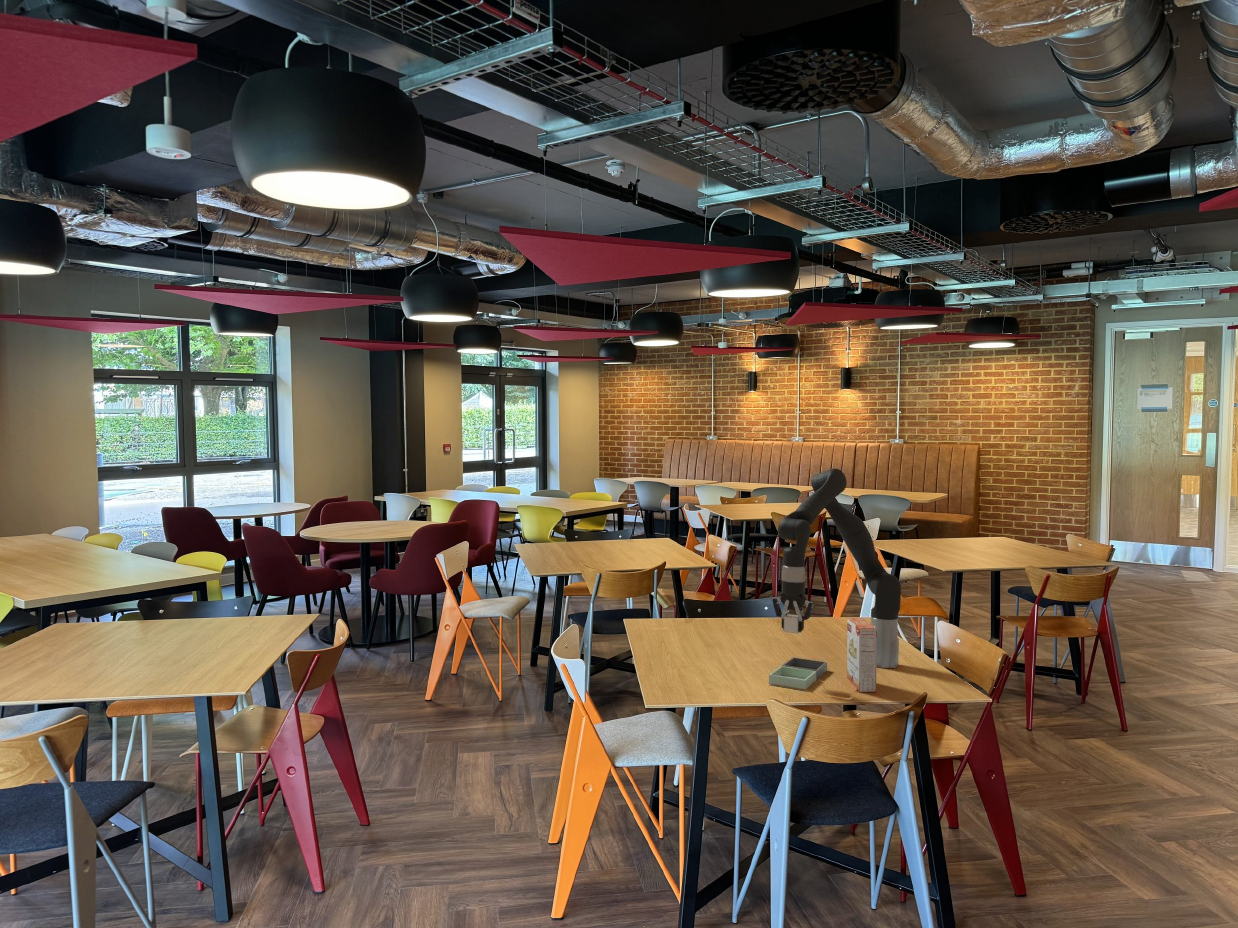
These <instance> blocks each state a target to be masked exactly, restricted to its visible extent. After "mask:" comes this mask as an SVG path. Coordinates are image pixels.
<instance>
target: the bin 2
mask: <svg viewBox="0 0 1238 928" xmlns="http://www.w3.org/2000/svg"><path fill="white" fill-rule="evenodd" d="M781 666H785V667H792V668H798V669H805V670H811V671H816V680H818V679H819V678H821V677H822V676H823V675H824V674H825V673H826V672H827V671H828V662H827V661H823V660H814V659H808V658H802V657H791V658H790V659H788V660H787V661H786V662H784V663H783V664H781Z"/></svg>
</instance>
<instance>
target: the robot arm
mask: <svg viewBox="0 0 1238 928" xmlns="http://www.w3.org/2000/svg"><path fill="white" fill-rule="evenodd" d="M810 481H811V483H810V484H811V488H812V490H813V493H812V494H809V496H808V497H807V498H805V499H804V500H802V502H801V503H800V504H799V506H798V507H797V508H796V510H794V511H792V512H791V513H789V514H787V515H786V516H784V517H782V519H781V520H780V521H779V523H778V526H777V534H778V536H779V537H780V538H781V539H783V540H786V541H787V540H788V541H796V543H795V545H794V546H789V547H786V548H784V549H783V552H782V554H783V555H782V570H781V595H780V597H774V598H773V599H771V600H772V605H773V608H774V612H775V616H776V617H778V618H780V619H781V628H782V630H783V631H784V617H785V616H787V615H788V614H789V612H790V611H793V612H795V613H796V614H795V615H797V616H798V619H799V621H798V632H799V633H802V632H803V631H804V629H805V621H807V620H809V619H810V617H811V615H812V613H813V609H814V606H815V602H814V601H809V600H807V599H806V595H805V594H806V568H805V563H806V560H805V559H806V557H805V556H806V551H807V547H808V543H809V539H810V536H811V532H812V527H811V526H812V525H813V524H814V522H815V521H816V520H817V518H818V517H819V515H820V514H821V513H822V512H823V510H824V509H825V510H826V512H827V513H828V515H829V517H830V518H831V520H832V522H833V524H834V525H835V527H836V528H837V531H838V532H839V534H840V536H841V538H842V540H843V542H844V544H845V546H847V549H848V550H849V553H850V554H851V555H852V557H853V558H854V560H855V561H856V563H857V565H858V566H859V569H860V570H861V573H862V574H863V577H864V579H865V582H866V585H867V586H868V588H869V591H870V592H871V593H872V594H873V595H874V597H875V598H874V605H873V607H872V608H871V610H870V624H871V625H872V626H874V627H875V628H876V629H877V655H876V668H882V669H896V668H897V667H898V665H899V660H900V659H899V655H900V653H899V652H900V647H899V646H900V645H899V644H900V643H899V642H900V638H898V634H899V633H898V631H899V627H898V626H899V624H898V622H899V612H900V610H901V602H902V601H901V598H902V585H901V582H900V579H899V578H898V577H897V576H895V575H893V574H891V573H889V572H888V571H887V570H886V569H885V567H884V566H883V565H882V563H881V561H880V559H879V558H878V555H877V553H876V549H875V544H874V540H873V537H872V535H871V533H870V531H869V529H868V528H867V526H866V524H865V523H864V521H863V520H862V519H861V518H860V517H859V516H857V515H856V514H855V513H853V512H852V511H850V510H848V509H846V507H844V506H843V505H842V504H841V503H840V502H839V500H838V499H837V497H838V496H839V495H840V494H842V493H843V492H844V491H845V490H846V488H847V483H848V482H847V477H846V475H845V473H844V472H843V470H841V469H839V468H836V467H835V468H830V469H826V470H825V471H822V472H819V473H817V474H815V475H813V476H812V477H811V480H810ZM781 603H782V605H783V609H781V605H780V604H781ZM804 605H805V608H806V610H805V614H804V610H803V609H804V608H803V606H804Z"/></svg>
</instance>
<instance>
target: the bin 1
mask: <svg viewBox="0 0 1238 928" xmlns="http://www.w3.org/2000/svg"><path fill="white" fill-rule="evenodd" d="M816 681H817V679H816V671H811V670H805V669H798V668H792V667H785V666H782V665H781V666H779V667H778V668H776V669H775V670H773V671H772V672H771V673H770V674H768V685H769V686H770V687H771V686H772V687H776V688H783V689H789V690H795V691H801V692H806V691H807V689H808V688H809V687H810V686H811V685H813V684H814V683H815V682H816Z"/></svg>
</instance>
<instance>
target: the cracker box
mask: <svg viewBox="0 0 1238 928" xmlns="http://www.w3.org/2000/svg"><path fill="white" fill-rule="evenodd" d="M846 621H847V623H846V625H847V626H846V627H847V631H846V632H847V635H846V637H847V643H846V644H847V645H846V657H847V658H846V659H847V660H846V661H847V662H846V663H847V664H846V666H847V667H846V669H847V671H846V673H847V674H846V678H847V679H848V681H849V682H850V683H851V684H852V686H854V687H855V688H856V691H858V693H877V667H876V655H877V629H876V628H875V627H874V626H872V625H871V622H868V621H867V620H866V619H864V618H847V620H846Z"/></svg>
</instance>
